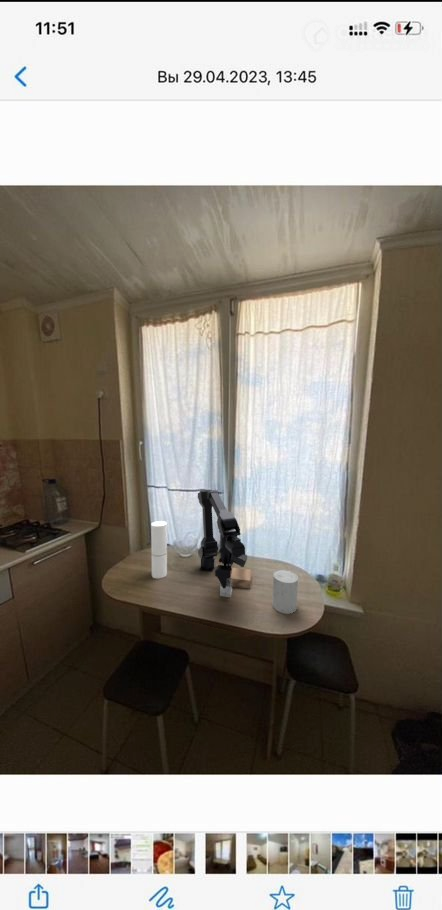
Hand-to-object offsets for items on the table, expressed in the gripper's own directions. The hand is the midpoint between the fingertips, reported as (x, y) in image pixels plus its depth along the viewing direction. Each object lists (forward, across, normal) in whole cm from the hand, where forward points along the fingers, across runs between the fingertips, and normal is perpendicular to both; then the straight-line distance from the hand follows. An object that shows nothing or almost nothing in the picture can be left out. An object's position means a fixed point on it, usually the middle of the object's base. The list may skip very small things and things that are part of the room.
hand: (226, 581), depth 106 cm
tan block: (+6, +10, -5) cm, 12 cm away
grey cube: (+5, 0, 0) cm, 5 cm away
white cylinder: (+5, -2, -24) cm, 25 cm away
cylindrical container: (+5, +7, +34) cm, 35 cm away
